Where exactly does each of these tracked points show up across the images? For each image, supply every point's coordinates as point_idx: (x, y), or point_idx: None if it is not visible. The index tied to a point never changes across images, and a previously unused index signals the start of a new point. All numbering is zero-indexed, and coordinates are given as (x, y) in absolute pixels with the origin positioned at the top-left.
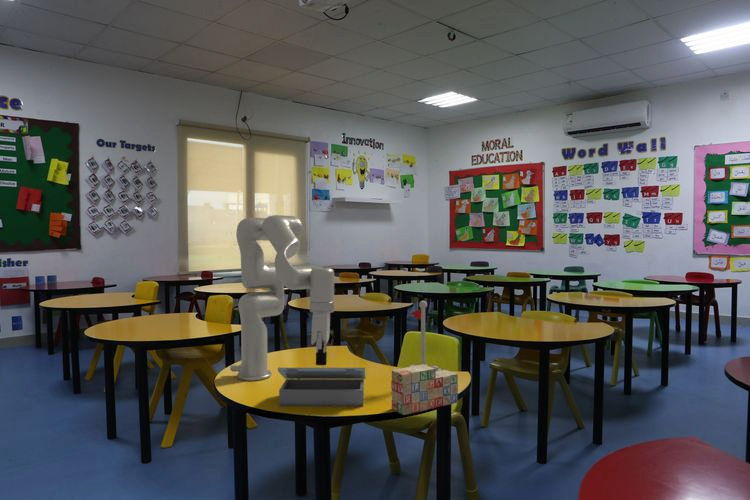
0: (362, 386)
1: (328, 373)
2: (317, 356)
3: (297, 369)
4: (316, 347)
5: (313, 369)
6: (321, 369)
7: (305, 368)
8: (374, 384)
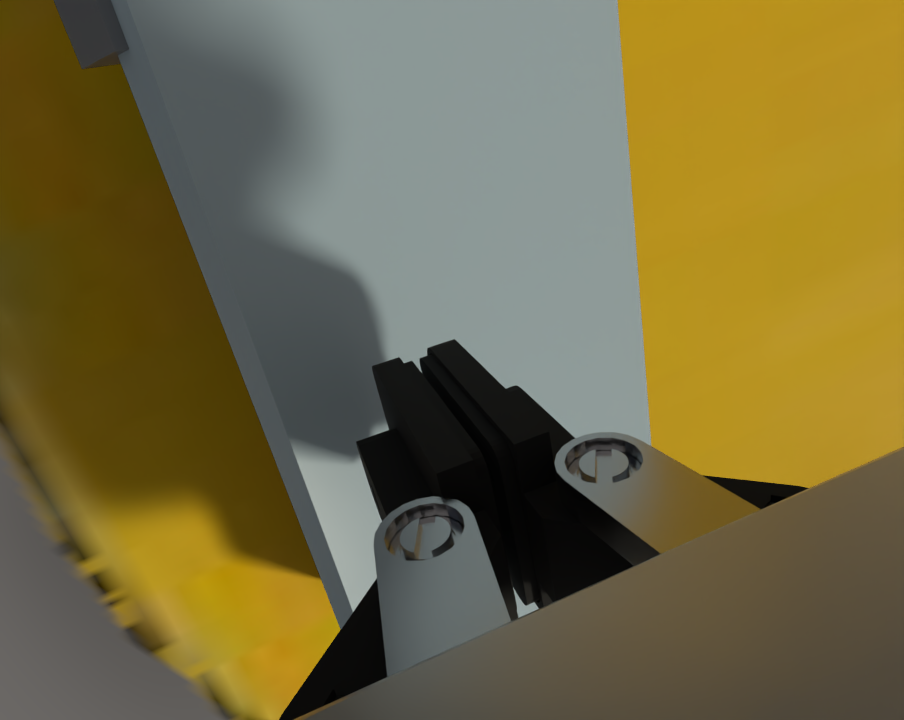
0: None
1: None
2: (417, 457)
3: (127, 57)
4: (385, 648)
5: (242, 357)
6: (285, 469)
7: (202, 220)
8: (752, 466)
